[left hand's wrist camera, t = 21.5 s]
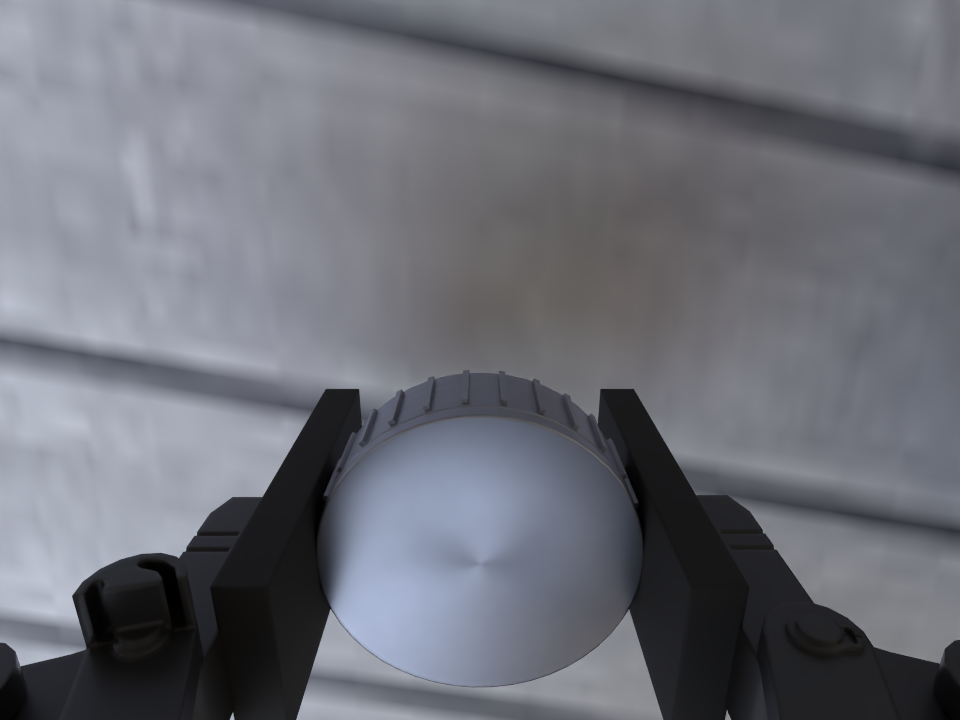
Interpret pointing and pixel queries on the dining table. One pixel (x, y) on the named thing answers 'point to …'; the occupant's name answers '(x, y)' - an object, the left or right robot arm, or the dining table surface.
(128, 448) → the dining table surface
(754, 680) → the left robot arm
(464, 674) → the lid
